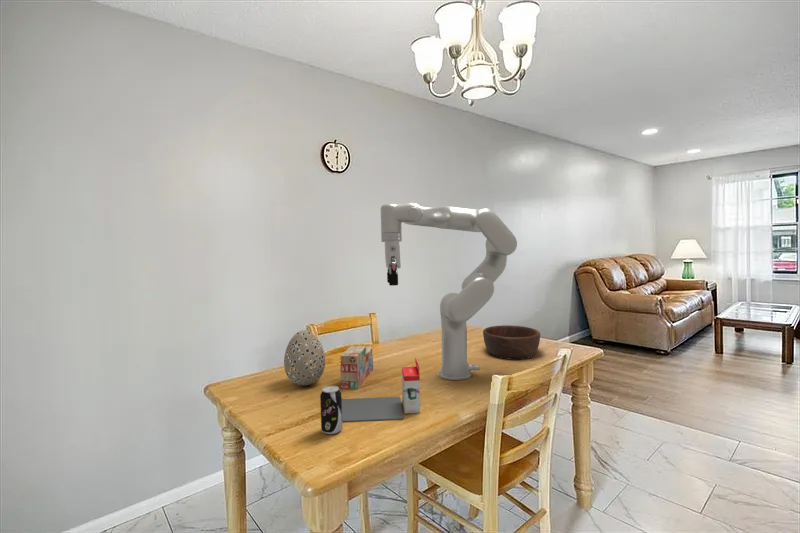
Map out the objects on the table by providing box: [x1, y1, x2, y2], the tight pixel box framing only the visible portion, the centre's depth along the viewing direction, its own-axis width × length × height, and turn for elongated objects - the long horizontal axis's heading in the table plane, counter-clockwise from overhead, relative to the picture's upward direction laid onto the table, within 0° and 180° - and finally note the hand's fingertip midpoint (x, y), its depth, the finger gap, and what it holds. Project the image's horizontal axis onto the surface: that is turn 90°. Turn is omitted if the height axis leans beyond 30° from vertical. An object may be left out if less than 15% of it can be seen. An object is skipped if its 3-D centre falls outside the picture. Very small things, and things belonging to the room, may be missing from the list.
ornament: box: [283, 329, 326, 386], centre depth 145 cm, size 15×15×20 cm
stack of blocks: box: [340, 345, 374, 390], centre depth 150 cm, size 21×6×12 cm, turn 169°
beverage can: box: [319, 385, 343, 435], centre depth 109 cm, size 6×6×12 cm
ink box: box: [401, 357, 421, 414], centre depth 123 cm, size 8×5×15 cm, turn 5°
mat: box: [342, 396, 404, 423], centre depth 123 cm, size 20×16×1 cm
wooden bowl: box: [482, 324, 541, 360], centre depth 179 cm, size 25×25×10 cm
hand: (392, 283), depth 147 cm, fingers open, 9 cm apart
